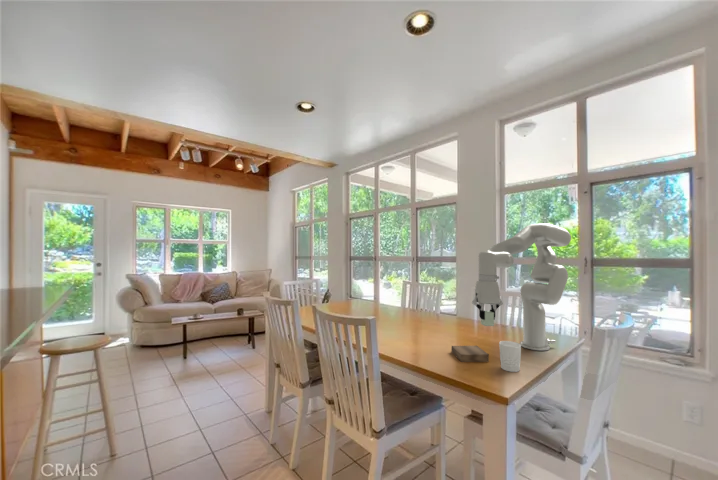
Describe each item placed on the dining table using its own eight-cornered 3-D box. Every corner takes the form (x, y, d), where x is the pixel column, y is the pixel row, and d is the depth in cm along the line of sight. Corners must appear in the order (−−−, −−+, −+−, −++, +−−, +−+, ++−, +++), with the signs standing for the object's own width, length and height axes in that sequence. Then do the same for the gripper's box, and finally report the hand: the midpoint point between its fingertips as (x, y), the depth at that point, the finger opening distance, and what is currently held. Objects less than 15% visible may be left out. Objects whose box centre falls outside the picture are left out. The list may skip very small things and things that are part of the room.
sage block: (489, 323, 140) (489, 310, 140) (493, 326, 136) (493, 312, 136) (481, 323, 140) (481, 310, 140) (485, 325, 136) (485, 312, 136)
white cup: (495, 365, 126) (495, 341, 126) (513, 364, 126) (513, 340, 127) (506, 373, 118) (506, 347, 118) (525, 372, 118) (525, 346, 119)
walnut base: (476, 352, 142) (476, 345, 142) (488, 361, 130) (488, 354, 130) (451, 352, 141) (451, 345, 141) (461, 361, 129) (461, 354, 129)
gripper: (501, 278, 143) (501, 317, 142) (466, 277, 142) (466, 317, 141) (509, 279, 135) (509, 321, 135) (472, 279, 135) (472, 320, 134)
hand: (487, 318), depth 138 cm, fingers closed on sage block, 4 cm apart
